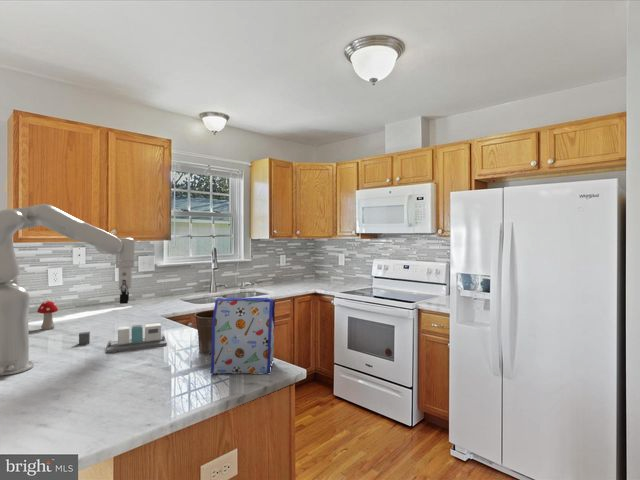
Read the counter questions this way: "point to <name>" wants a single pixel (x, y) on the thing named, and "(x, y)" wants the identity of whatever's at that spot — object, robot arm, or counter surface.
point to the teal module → (137, 333)
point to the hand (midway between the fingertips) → (124, 301)
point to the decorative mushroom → (47, 314)
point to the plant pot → (205, 330)
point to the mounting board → (135, 346)
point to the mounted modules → (150, 333)
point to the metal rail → (133, 343)
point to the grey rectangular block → (84, 338)
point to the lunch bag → (243, 335)
